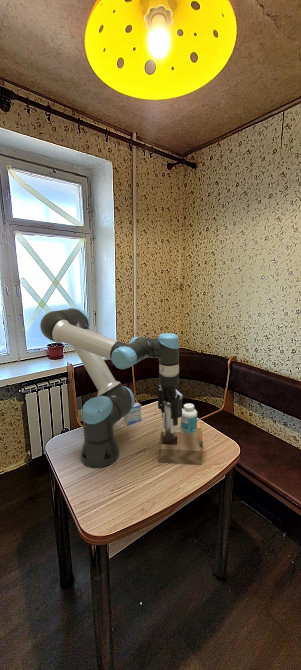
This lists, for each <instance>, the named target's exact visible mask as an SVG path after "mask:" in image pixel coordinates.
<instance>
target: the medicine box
mask: <svg viewBox="0 0 301 670" xmlns="http://www.w3.org/2000/svg"><path fill="white" fill-rule="evenodd" d="M141 421H142V406H141V404H140V403H139V402H134V406H133V408H132V410H131V411H130V412H129V413H128V414H127V415H125V416H124V417H123V422H124V423H125V424H126V425H128V426H130V425H134V424H135V423H139V422H141Z"/></svg>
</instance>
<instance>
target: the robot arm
mask: <svg viewBox="0 0 301 670" xmlns="http://www.w3.org/2000/svg"><path fill="white" fill-rule="evenodd" d="M40 320H41V321H40V324H39V326H40V327H39V328H40V331H41V333H42V334H43V336H44V337H45V338H46V339H48V340H50V341H52V342H55V343H57V344H62V343H65V344H67V345H68V346H69V345H70V346H73V347H72V348H74V350H75V352H76V354H77V356H78V358H79V360H80V361H81V363H82V364H83V366H84V368H85V370H86V371H87V373H88V375H89V377H90V379H91V380H92V382H93V384H94V385H95V387H96V389H97V394H96V395H97V396H96V397H91V398H89V399H88V400H87V401H85V403H84V404H83V406H82V408H81V409H82V413H81V418H82V426H83V427H82V428H83V437H84V440H83V445H82V448H81V451H80V453H81V454H80V456H81V457H80V458H81V459H82V460H81V462H82V461H83V462H82V464H83V463H84V464H83V465H85V466H86V465H87V466H86V467H88V466H90V467H89V468H92V467H94V469H100V467H101V468H105V467H108V466H110V465H112V464H113V463H114V462H116V461H117V460H118V458H119V456H120V448H119V444H118V443H117V440H116V438H115V431H114V430H115V429H114V425H116V424H117V423H118V422H120V420H121V419H124V416H125V415H127V414H128V413H129V412H130V411H131V410H132V408H133V406H134V403H136V402H135V395H134V393H133V391H132V389H130V388H129V387H127V386H123V384H122V383H121V382H120V381H118V380H116V379H115V377H114V376H113V374H112V372H111V370H110V369H109V366H108V365H107V364H106V362H105V359H106V360H107V359H108V360H110V361H111V363H112V365H114V366H115V368H117V369H119V370H125V369H128V368H131V367H133V366H134V365H136V364H138V363H140V362H142V361H143V360H145V359H146V358H153V359H158V361H159V362H158V364H159V366H158V367H159V368H158V369H159V372H158V373H159V374H158V376H159V379H158V380H159V385H158V384H157V385H156V392H157V408H158V410H160V412H161V417H162V428H163V430H165V405H164V404H163V400H167V399H168V400H169V401H170V403H171V413H172V417H171V433H174V432H178V425H179V424H178V423H179V419H181V417H182V409H183V399H184V396H185V395H184V393H181V392H180V391H179V387H178V386H179V383H180V374H179V373H180V364H179V363H180V361H179V360H180V359H179V358H180V344H179V336H178V334H177V333H176V334H175V333H172V332H171V333H170V332H169V333H168V332H165V333H164V332H163V333H160V334H159V335H158V338H156V337H155V338H152V337H143V336H135V337H132V338H131V340H130V341H129V343H127V342H123V341H120V340H117V339H114V338H112V337H108V336H106V335H102V334H101V333H100V334H99V333H97V332H94V331H91V329H90V325H91V323H90V317H89V316H88V314H87V313H86V312H85V310H83V309H81V308H78V307H77V308H76V307H75V308H74V307H72V308H71V307H70V308H67V309H60V310H51V311H49V312H46V314H44V316H42V318H41V319H40ZM103 358H105V359H103Z"/></svg>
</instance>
